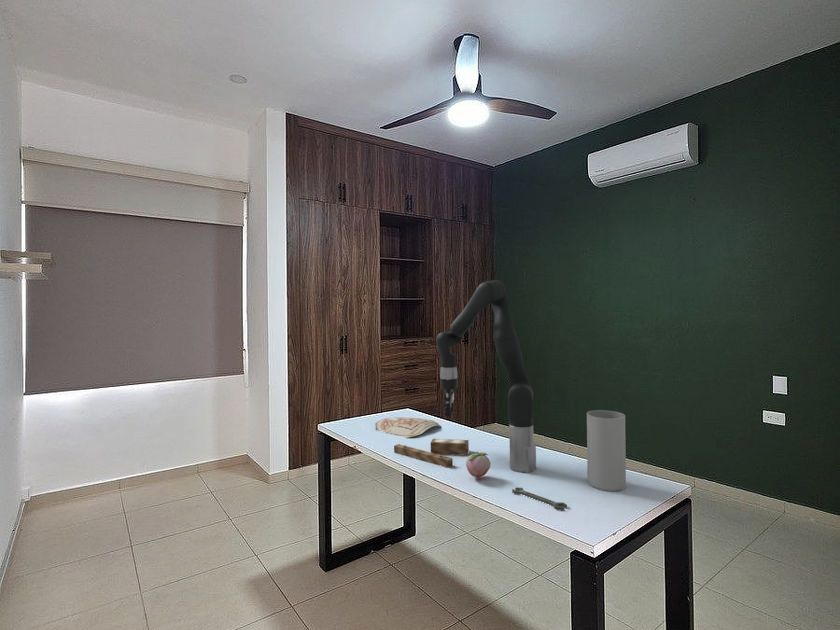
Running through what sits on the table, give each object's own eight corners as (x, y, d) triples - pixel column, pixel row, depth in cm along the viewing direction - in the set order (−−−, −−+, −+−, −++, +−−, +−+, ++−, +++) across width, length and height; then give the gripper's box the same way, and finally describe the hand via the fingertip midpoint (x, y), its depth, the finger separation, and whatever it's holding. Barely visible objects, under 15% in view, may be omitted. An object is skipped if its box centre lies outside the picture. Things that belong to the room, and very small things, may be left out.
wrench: (518, 489, 157) (518, 486, 157) (570, 508, 142) (570, 504, 142) (509, 493, 154) (509, 490, 154) (561, 513, 138) (561, 509, 138)
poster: (369, 436, 235) (414, 444, 217) (367, 425, 234) (413, 431, 216) (402, 421, 257) (446, 426, 239) (401, 410, 257) (445, 415, 238)
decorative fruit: (477, 471, 173) (476, 446, 173) (494, 477, 167) (493, 450, 167) (460, 478, 167) (460, 451, 167) (477, 484, 161) (477, 456, 161)
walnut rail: (452, 465, 180) (452, 456, 180) (448, 467, 178) (447, 458, 178) (398, 450, 200) (398, 442, 200) (394, 452, 198) (394, 444, 198)
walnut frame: (468, 451, 198) (468, 439, 198) (467, 455, 192) (467, 443, 192) (432, 449, 201) (432, 438, 201) (430, 454, 195) (430, 442, 195)
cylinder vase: (582, 477, 165) (581, 410, 164) (617, 477, 165) (616, 410, 164) (594, 492, 152) (594, 419, 152) (632, 491, 152) (631, 418, 152)
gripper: (442, 374, 205) (443, 409, 205) (437, 379, 191) (438, 417, 191) (459, 374, 203) (459, 410, 204) (455, 379, 189) (456, 418, 190)
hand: (449, 413), depth 197 cm, fingers open, 8 cm apart
